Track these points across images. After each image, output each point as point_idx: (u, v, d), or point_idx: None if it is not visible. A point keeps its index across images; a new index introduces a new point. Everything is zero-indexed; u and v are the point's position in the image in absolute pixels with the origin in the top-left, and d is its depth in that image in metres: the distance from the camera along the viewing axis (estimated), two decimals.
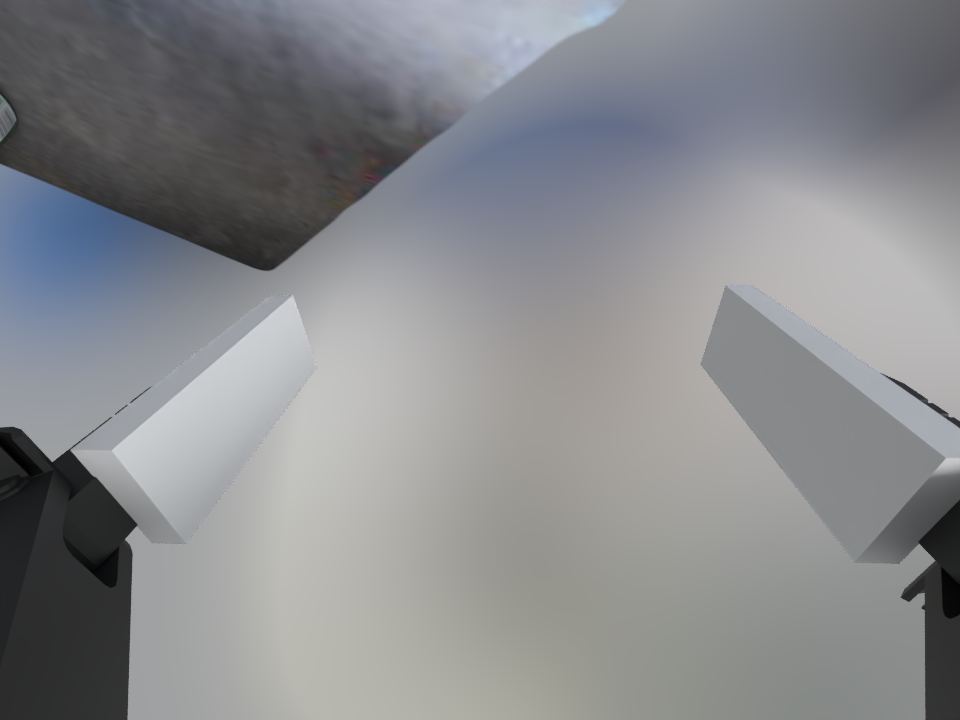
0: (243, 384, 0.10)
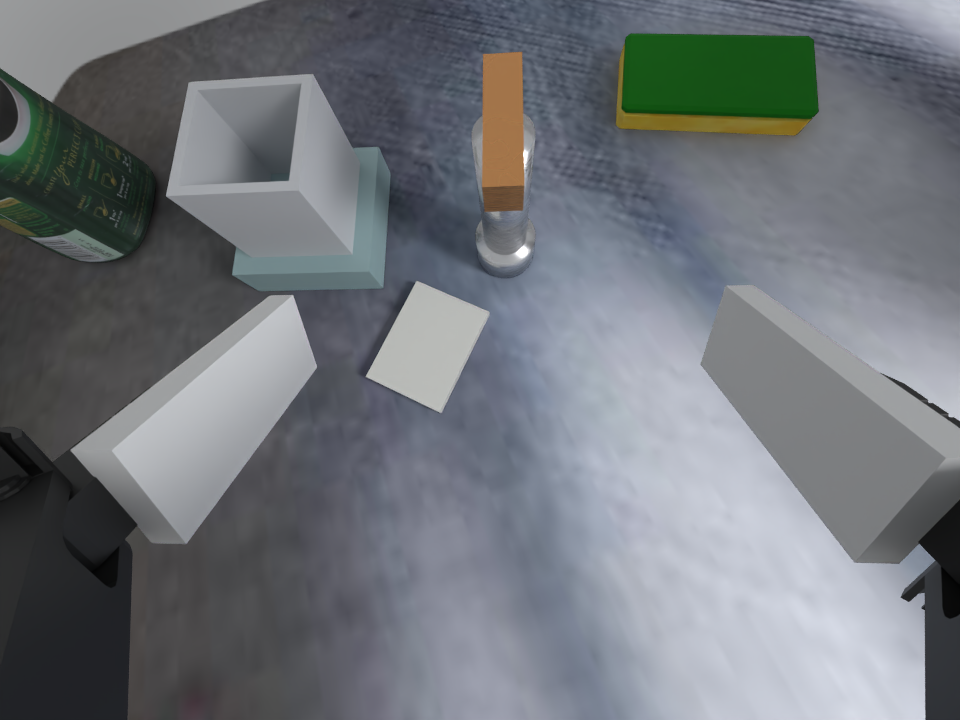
0: (243, 384, 0.10)
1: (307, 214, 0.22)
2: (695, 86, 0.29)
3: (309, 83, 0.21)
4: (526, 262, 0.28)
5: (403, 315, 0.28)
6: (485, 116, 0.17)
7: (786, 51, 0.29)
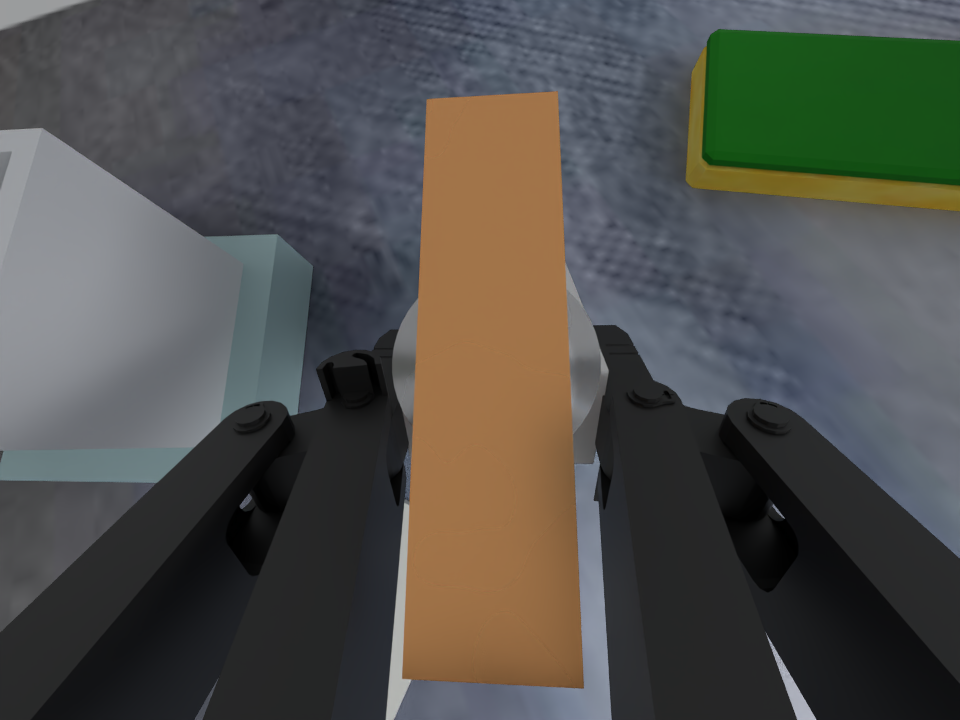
0: None
1: None
2: (836, 125, 0.16)
3: (31, 151, 0.09)
4: None
5: None
6: (426, 337, 0.05)
7: None
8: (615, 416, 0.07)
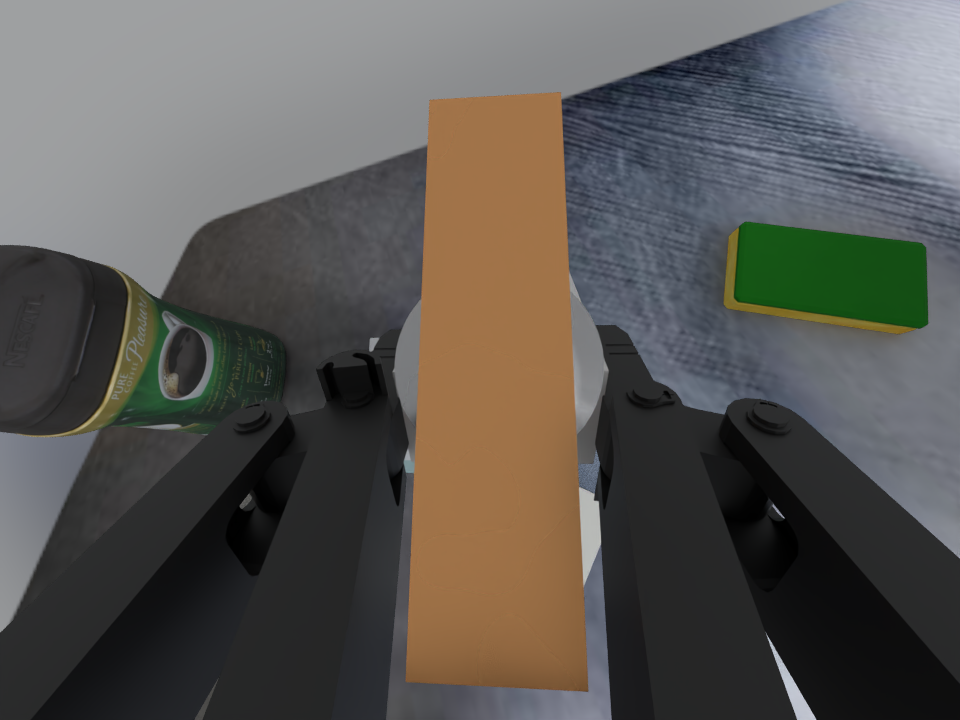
0: None
1: None
2: (808, 285, 0.30)
3: None
4: None
5: None
6: (429, 339, 0.05)
7: (898, 257, 0.30)
8: (615, 416, 0.07)
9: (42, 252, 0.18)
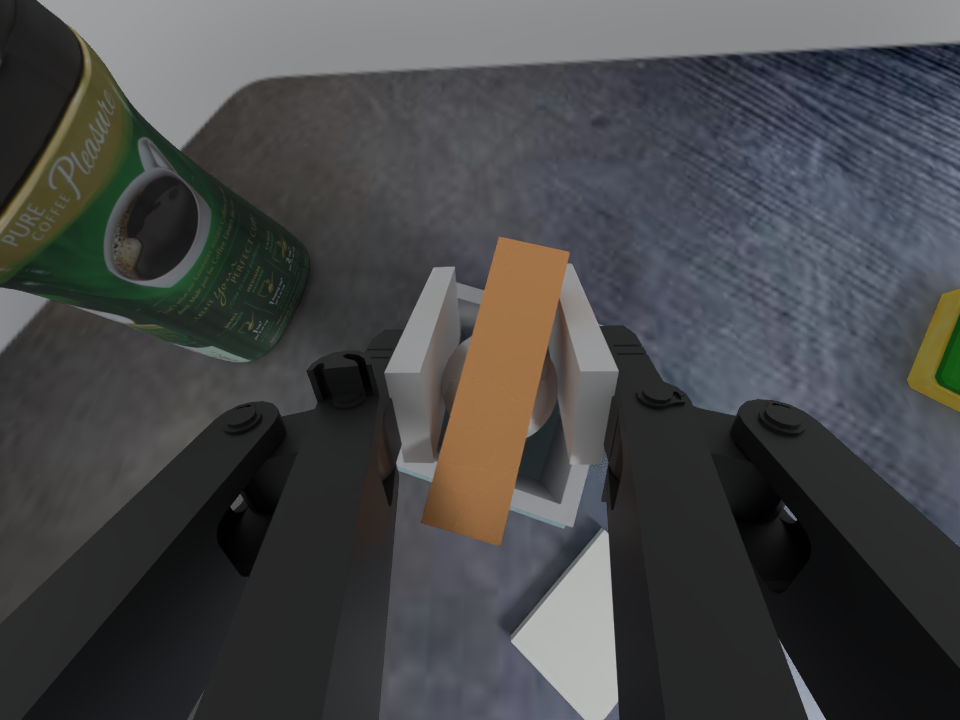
0: (444, 338, 0.11)
1: None
2: None
3: None
4: None
5: (577, 572, 0.22)
6: (468, 369, 0.09)
7: None
8: (624, 416, 0.07)
9: None
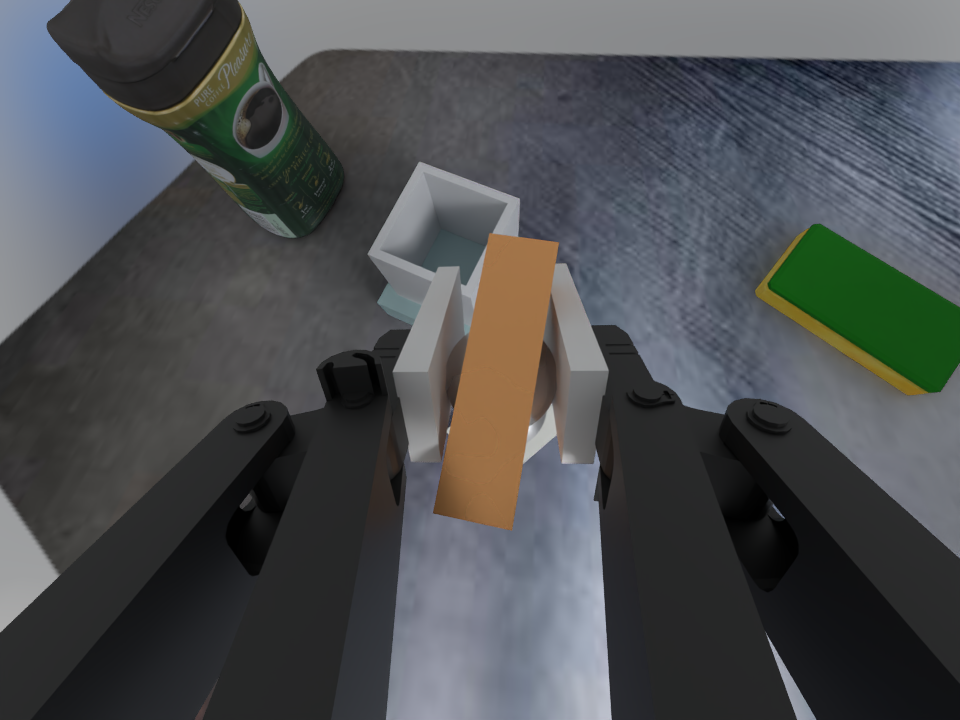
0: (450, 337, 0.11)
1: (464, 305, 0.26)
2: (844, 303, 0.30)
3: (513, 206, 0.25)
4: None
5: None
6: (468, 362, 0.09)
7: (949, 322, 0.29)
8: (615, 416, 0.07)
9: None
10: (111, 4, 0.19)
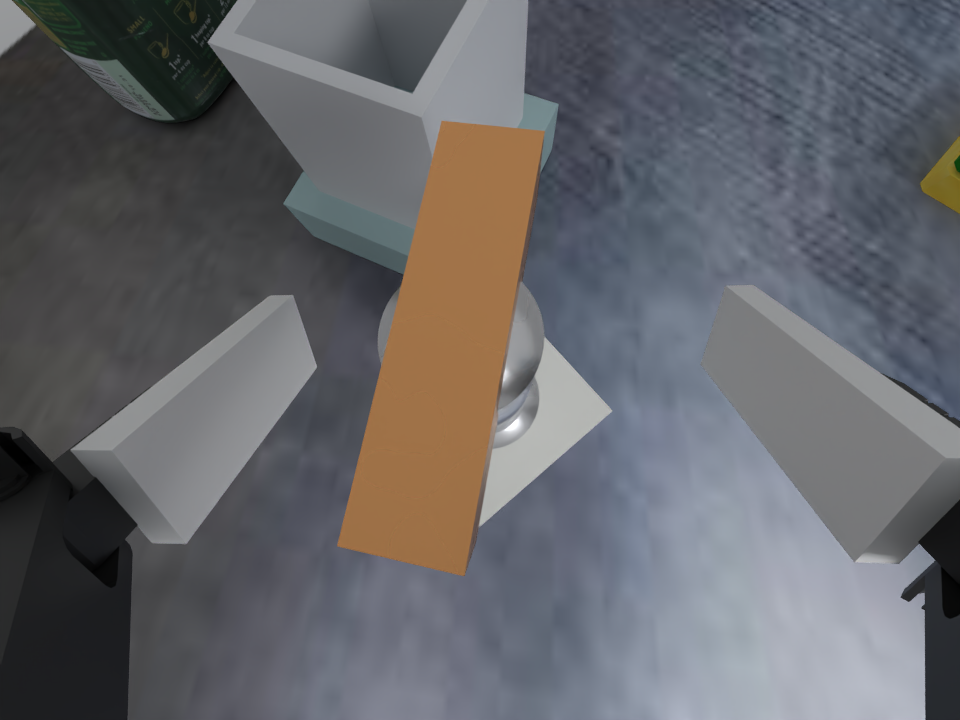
0: (243, 384, 0.10)
1: (418, 164, 0.13)
2: None
3: None
4: None
5: None
6: (403, 306, 0.06)
7: None
8: None
9: None
10: None
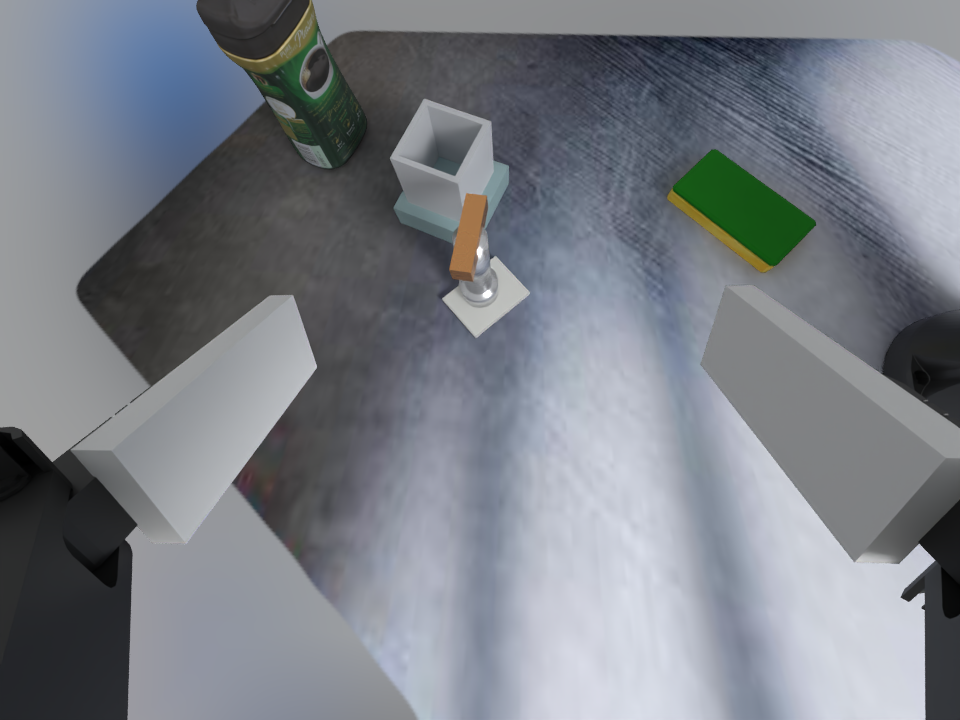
0: (243, 384, 0.10)
1: (454, 195, 0.38)
2: (722, 203, 0.42)
3: (487, 126, 0.37)
4: (490, 300, 0.42)
5: None
6: (459, 230, 0.31)
7: (792, 220, 0.41)
8: None
9: None
10: None
